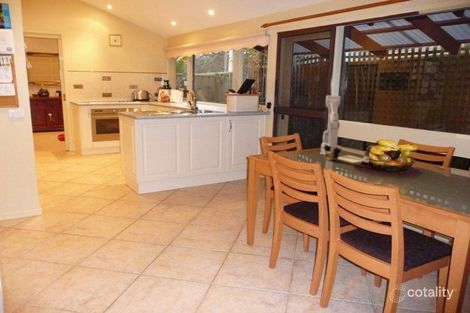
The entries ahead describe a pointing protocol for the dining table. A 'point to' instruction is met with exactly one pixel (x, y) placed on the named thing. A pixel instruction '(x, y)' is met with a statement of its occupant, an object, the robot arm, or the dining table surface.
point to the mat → (350, 159)
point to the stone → (366, 155)
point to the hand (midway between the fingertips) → (331, 157)
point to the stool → (329, 155)
